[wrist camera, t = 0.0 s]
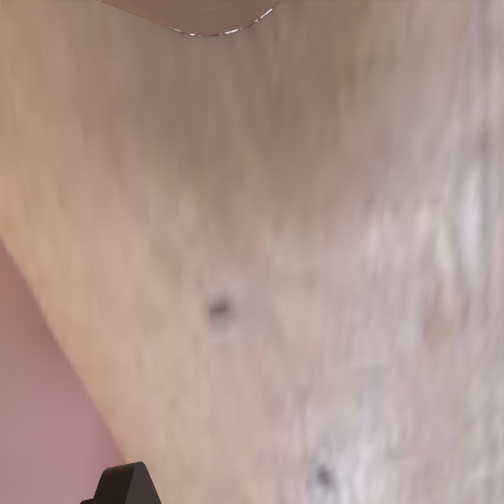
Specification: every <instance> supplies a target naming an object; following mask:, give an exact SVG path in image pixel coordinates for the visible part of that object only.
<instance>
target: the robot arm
mask: <svg viewBox="0 0 504 504" xmlns="http://www.w3.org/2000/svg"><path fill="white" fill-rule="evenodd" d="M97 1H101V2H103V3H106V4H109V5H111V6H114V7H116V8H119V9H122V10H124V11H127V12H129V13H132V14H135V15H137V16H140V17H142V18H145V19H147V20H150V21H153V22H155V23H158V24H160V25H163V26H165V27H168V28H171V29H174V30H176V31H178V32H179V33H182V34H187V35H192V36H196V35H197V36H219V35H225V34H229V33H232V32H236V31H239V30H240V29H243V28H246V27H248V26H250V25H252V24H253V23H255V22H256V21H258V20H260V19H261V18H262V17H264V16H265V15H266V14H267V13H269V12H270V11H271V10H272V9H273V8H274V6H275V5H276V4H277V3H278V2H279V1H280V0H97ZM80 504H162V503H161V501H160V499H159V496H158V494H157V492H156V489H155V487H154V484H153V482H152V480H151V477H150V475H149V473H148V470H147V468H146V466H145V464H144V463H143V462H135V463H130V464H125V465H120V466H115V467H110V468H107V469H105V470H104V472H103V473H102V475H101V478H100V481H99V484H98V487H97V489H96V492H95V495H94V498H93V499H89V500H84V501H82V502H81V503H80Z"/></svg>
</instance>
